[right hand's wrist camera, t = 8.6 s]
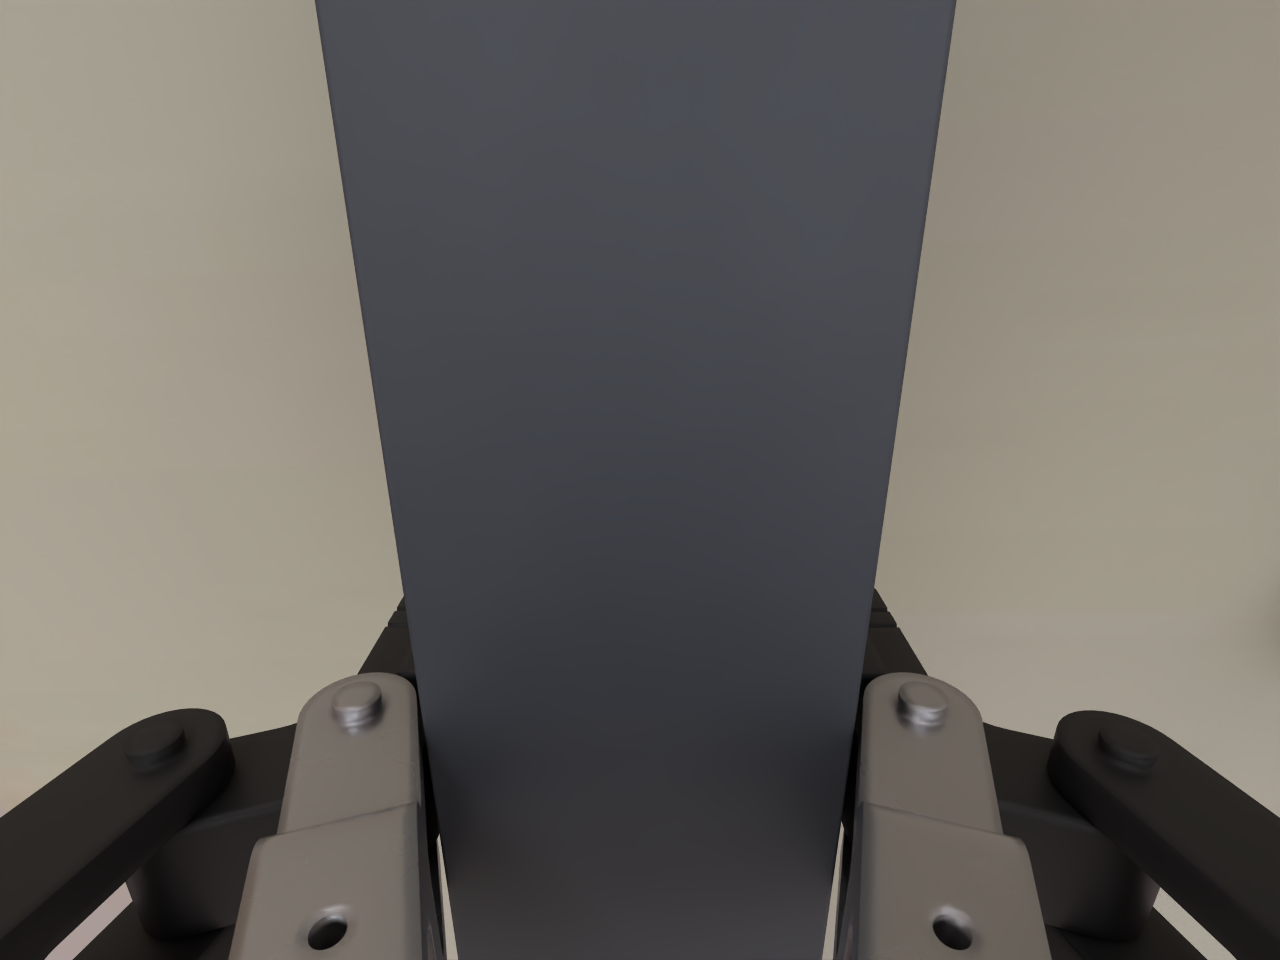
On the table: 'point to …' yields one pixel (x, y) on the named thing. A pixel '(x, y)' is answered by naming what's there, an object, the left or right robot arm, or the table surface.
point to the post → (637, 435)
